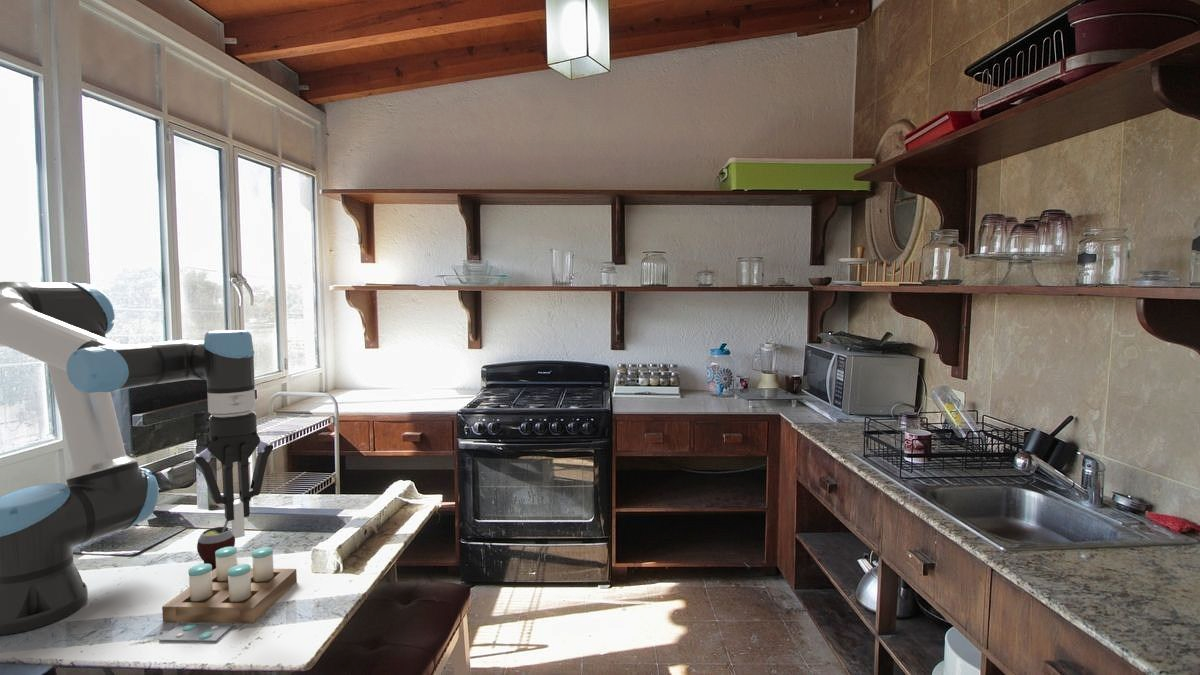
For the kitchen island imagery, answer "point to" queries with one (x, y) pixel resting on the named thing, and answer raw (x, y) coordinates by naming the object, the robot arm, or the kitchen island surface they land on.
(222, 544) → the mate gourd
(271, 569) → the button
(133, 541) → the kitchen island surface
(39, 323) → the robot arm
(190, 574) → the button
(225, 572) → the button
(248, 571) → the button
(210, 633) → the card
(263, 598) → the board
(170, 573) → the kitchen island surface
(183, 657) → the kitchen island surface
